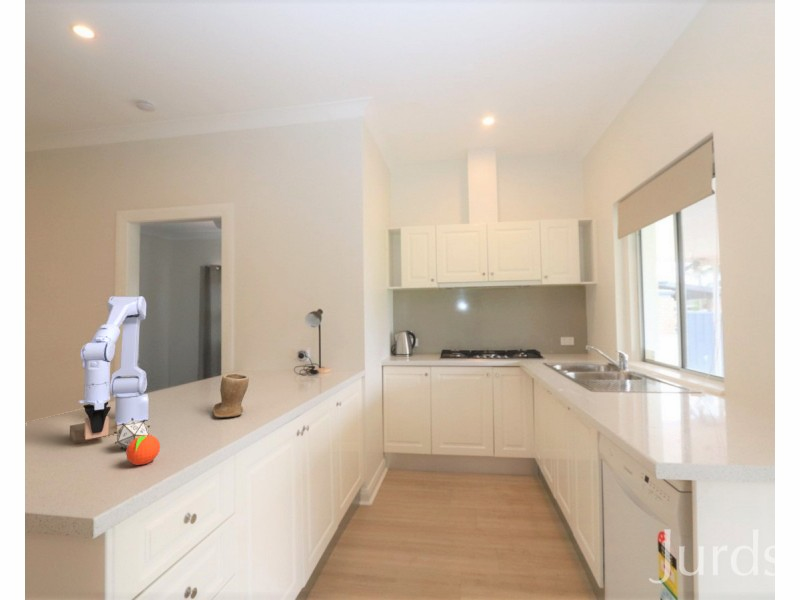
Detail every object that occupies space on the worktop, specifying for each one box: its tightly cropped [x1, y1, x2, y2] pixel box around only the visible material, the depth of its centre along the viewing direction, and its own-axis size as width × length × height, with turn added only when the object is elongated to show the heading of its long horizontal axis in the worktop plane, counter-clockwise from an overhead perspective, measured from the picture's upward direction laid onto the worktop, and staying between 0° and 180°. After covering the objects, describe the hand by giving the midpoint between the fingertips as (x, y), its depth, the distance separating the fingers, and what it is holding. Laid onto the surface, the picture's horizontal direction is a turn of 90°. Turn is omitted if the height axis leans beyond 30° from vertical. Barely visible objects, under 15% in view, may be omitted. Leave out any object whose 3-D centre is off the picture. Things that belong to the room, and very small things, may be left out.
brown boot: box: [213, 372, 250, 418], centre depth 135 cm, size 15×12×15 cm
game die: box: [113, 418, 153, 450], centre depth 100 cm, size 9×8×10 cm
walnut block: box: [68, 417, 118, 444], centre depth 111 cm, size 10×8×4 cm
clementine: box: [126, 434, 161, 466], centre depth 90 cm, size 8×7×7 cm
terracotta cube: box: [84, 415, 110, 439], centre depth 105 cm, size 5×5×5 cm
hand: (96, 430), depth 105 cm, fingers closed on terracotta cube, 5 cm apart
